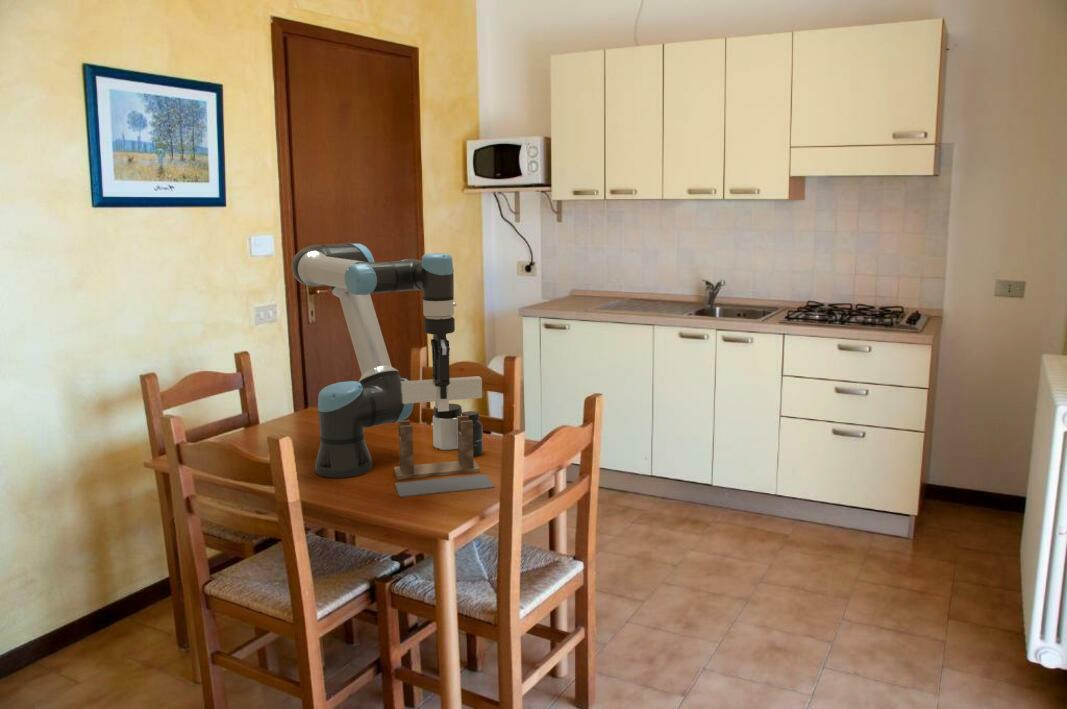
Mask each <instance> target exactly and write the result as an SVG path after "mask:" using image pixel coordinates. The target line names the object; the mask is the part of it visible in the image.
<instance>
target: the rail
mask: <svg viewBox="0 0 1067 709" xmlns="http://www.w3.org/2000/svg"><path fill="white" fill-rule="evenodd" d="M449 379H450V384H449V385H448V396H449V401H458V400H470V399H482V398H483V378H482V377H481V376H479V375H477V376H476V375H475V376H461V377H449ZM400 383H401V402H402V403H403V404H407V403H414V404H418V403H432V402H434V403H435V401H437V387H435V384H438V379H434V378H433V379H432V378H431V379H417V380H408V381H400Z"/></svg>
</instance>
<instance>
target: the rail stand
mask: <svg viewBox="0 0 1067 709" xmlns="http://www.w3.org/2000/svg"><path fill="white" fill-rule="evenodd" d="M397 425H398V426H397V428H398V450H399V451H398V453H399V455H398V456H399V466H394V467H393V470H394V474H395V476H396V480H398V481H401V480H412V479H422V478H423V479H424V478H430V477H431V478H433V477H444V476H451V475H452V476H453V475H454V476H455V475H463V474H464V475H466V474H472V473H480V472H481V468H480V466H479V465H478V463H477V462H476V461H475V459H474V456H473V421H472V420H469V416H457V425H458V449H457V451H458V452H457V453H458V454H457V460H456V461H446V462H445V461H444V462H434V463H422V464H414V463H415V462H414V460H415V459H414V458H415V457H414V436H413V425H412V424H411V421H410V419H407V420H406V419H404V420H401V421H397Z"/></svg>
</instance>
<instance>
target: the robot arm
mask: <svg viewBox="0 0 1067 709" xmlns="http://www.w3.org/2000/svg"><path fill="white" fill-rule="evenodd" d="M373 256H374V255H373V254H372V252H371V251H370V250H369V248H368V247H367V246H365V245H363V244H362V243H351V242H346V243H335V244H334V243H333V244H314V245H309V246H305V247H304V248H302V249H300V250H299V251H298V252H297V253H296V254H295V255H294V257H293V258H292V261H291V272H292V275H293V277H294V278H295V280H297V282H299V283H300V284H302V285H303V286H309V287H330V290H331V293H332V295H333V296H335V297H337V298H339V301H340V302H339V303H340V305H341V308H342V311H343V312H342V313H343V315H344V319H345V321H346V322H345V323H346V325H347V329H348V332H349V336H350V340H351V343H352V346H353V349H354V352H355V356H356V359H357V363H358V366H359V367H358V368H359V370H360V373H361V376H360V378H359V380H358V381H356V380H355V381H354V380H348V381H339V382H336V383H332V384H329V385H327V386H325V387H323V388H322V389H321V390H319V392H318V396H317V397H318V399H317V410H318V411H317V412H318V424H319V436H320V437H319V438H320V444H319V448H318V452H317V455H316V459H315V462H314V467H315V473H316V474H317V475H319V476H321V477H324V478H334V479H335V478H336V479H341V478H342V479H343V478H350V477H357V476H361V475H363V474H366V473H368V472H370V471H371V470H372V469H373V459H372V456H371V453H370V451H369V449H368V446H367V445H368V444H366V439H365V429H368V428H372V427H373V428H374V427H378V426H382V425H387V424H395V423H398V421H404V420H406V419H407V418H409V417H410V415H411V414H412V412H413V409H414V407H415V406H414V405H415V403H407V404H403V403H402V402H401V383H400V381H409V379H408V378H404V377H401V375H400V372H399V369H396V368H395V367H393V366H392V364H391V360H390V356H389V352H388V351H387V350H388V349H387V347H386V343H385V340H384V337H383V334H382V330H381V326H380V323H379V320H378V317H377V313H376V310H375V306H374V302H373V300H372V296H371V294H373V295H374V294H383V293H393V292H394V293H395V292H407V291H422V304H423V305H422V307H423V308H422V310H423V312H422V313H423V316H424V318H423V330H424V333H425V334H428V335H432V336H433V337H432V338H431V339H430V346H431V359H432V378H433V379H438V384H435V387H437V401H434V403H435V405H434V407H435V408H438V412H441V411H449V404H450V402H449V401H450V400H449V396H448V385H449V384H450V379H449V378H450V350H451V348H450V340H448V338H447V335H448V334H452V333H454V332H455V330H456V329H455V328H456V326H455V325H456V324H455V320H456V319H455V317H454V315H455V308H454V307H456V306H457V302H455V300H454V299H455V298H454V296H455V293H454V292H455V291H454V290H455V289H454V288H455V285H454V284H455V281H454V271H455V270H454V269H455V268H454V265H453V264H454V263H453V257H452V255H451V254H449V253H437V252H436V253H435V252H434V253H425V254H423V255H422V256H421V260H420V259H415V258H410V259H409V258H406V259H402V260H395V261H393V260H392V261H385V262H383V261H379V262H375V259H374V257H373Z"/></svg>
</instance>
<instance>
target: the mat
mask: <svg viewBox="0 0 1067 709" xmlns="http://www.w3.org/2000/svg"><path fill="white" fill-rule="evenodd" d="M394 485H395V488H396V492H397V494H398V497H399V498H405V497H406V498H407V497H416V496H424V495H437V494H445V493H455V492H465V491H474V490H477V491H478V490H486V489H494V488H495V486H494V484H493V483H492V481H491V480H490V478H489V477H488V475H487V474H486V473H484V474H474V475H465V476H456V477H444V478H442V477H441V478H434V479H433V478H432V479H424V480H423V479H422V480H412V481H400V482H394Z"/></svg>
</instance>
